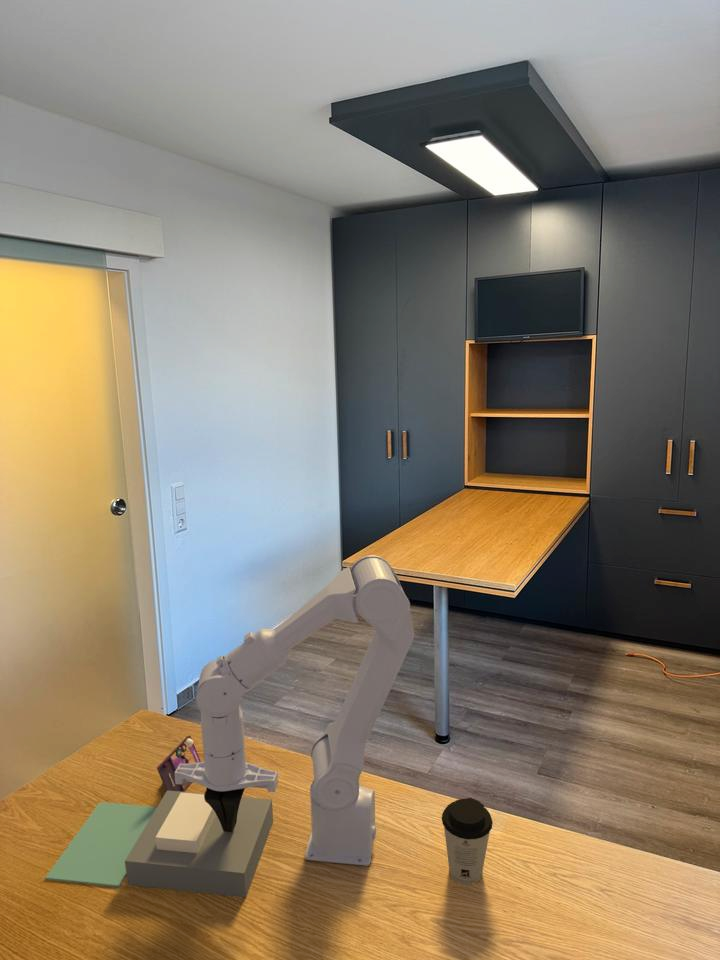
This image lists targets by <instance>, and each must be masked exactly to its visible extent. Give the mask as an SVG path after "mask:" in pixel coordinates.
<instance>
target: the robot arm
mask: <svg viewBox="0 0 720 960" xmlns="http://www.w3.org/2000/svg"><path fill="white" fill-rule="evenodd" d="M410 607H411V602H410V600H409V598H408V597H407V595H406V593H405V591H404V590H403V587H402V585H401V582H400V580H399V578H398V575H397V574H396V572H395V570H394V569H393V568H392V566H391V565H390V563H389V561H388V560H386V559H385V558H383V557H381V556H379V555H375V554H371V555H370V554H369V555H365V556H362V557H360V558H358V559H357V560H356V561H354V563H353V564H352V565H351V567H349V566H347V567H345V568H344V569H343V570H341V571H340V572H339V573H337V575H336V576H334V578H333V579H331V581H330V582H329V583H328V584H327V585H326V586H325V587H323V588H322V589H321V590H320V591H319V592H318V593H316V594H315V595H314V596H313V597H311V599H309V600H308V601H307V602H306V603H304V604H303V605H302V606H301V607H300V608H299V609H297V610H296V611H295V612H294V613H292V614H291V615H290V616H289V617H288V618H286V619H285V620H283V622H281V623H280V624H279V625H278V626H277V627H276V628H261V629H258V630H257V632H255V633H253V632H252V631H249V632H248V633H246V634H245V635H244V637H243V642H242V643H240V644H238V646H236V647H235V648H234V649H233V650H231V651H230V652H228V653H227V654H226V655H223V654H221V655H219V656H218V657H216V659H214V660H211V661H209V662H208V663H206V664H205V665H204V666H203V667H202V670H201V672H200V675H199V677H198V683H197V689H196V699H195V700H196V705H197V707H198V709H199V710H200V715H201V716H200V730H201V739H202V740H201V741H202V742H201V743H202V752H203V761H201V762H199V763H196V762H194V763H189V764H179V766H178V768H177V769H176V771H175V784H182V785H183V784H184V783H188V782H192V783H195V784H196V785H199V786H202V787H204V788H206V789H205V792H204V793H203V794H204V799H205V801H206V802H207V803H208V804H209V805H210V806H211V807H212V809H213V810H214V811H215V813H216V815H217V817H218V819H219V821H220V823H221V826H222V829H223V831H224V832H233V830H234V828H235V825H236V823H237V814H238V809H239V805H240V801H241V798H242V797H243V794H244V792H245V790H246V789H248V788H257V789H259V788H260V789H267V792H269V793H275V792H276V790H277V787H278V786H279V785H278V784H279V776H278V771H276V770H270V769H266V768H263V767H260V766H258V765H255V764H252V763H249V762H247V759H246V745H245V744H246V743H245V727H244V716H243V715H244V714H243V710H242V708H241V706H242V705H241V703H242V698H243V696H244V695H245V694H246V693H248V692H249V691H252V689H253V688H255V687H256V686H258V685H260V683H261V682H263V681H264V680H266V679H267V678H269V676H271V675H272V674H273V673H275V672H276V671H277V670H278V669H280V668H281V667H283V666H284V665H285V664H286V663H287V659H288V653H289V650H291V649H293V648H294V647H296V646H297V645H299V644H300V643H301V642H303V641H305V640H306V639H308V638H309V637H311V636H312V635H314V634H315V633H317V632H318V631H320V630H321V629H323V628H324V627H326V626H327V625H329V624H330V623H332V622H333V621H335V620H339V621H345V622H349V623H355V624H357V623H359V619H358V614H359V615H360V616H361V618H363V620H365V621H366V622H367V623H368V624H369V625H371V626H372V627H373V629H374V634H373V636H372V638H371V640H370V643H369V645H368V647H367V650H366V652H365V654H364V657H362V661H361V663H360V665H359V668H358V669H357V672H356V674H355V677H354V679H353V681H352V683H351V685H350V688H349V689H348V692H347V695H346V696H345V699H344V702H343V703H342V704H341V705H342V706H341V707H340V710H339V712H338V714H337V717H336V719H335V721H333V722H330V723H328V724H327V727H326V728H325V731H324V732H323V733H322V734H321V735H320V736H319V737H317V738H316V739H315V740H314V741H313V743H312V745H311V749H310V757H311V762H312V769H313V770H312V771H313V780H312V781H311V784H310V786H309V787H310V788H309V794H310V796H309V797H310V798H309V799H310V822H311V831H310V836H309V839H308V843H307V847H306V850H305V854H304V859H305V860H306V861H317V862H325V863H326V862H327V863H336V864H347V865H357V866H367V867H368V866H369V865H370V864H371V862H372V861H371V860H372V854H373V847H374V842H375V840H376V836H377V835H376V834H377V832H376V831H377V827H376V826H377V825H376V797H375V796H376V794H375V790H373V789H370V788H367V787H364V786H363V785H361V784H360V777H361V775H362V772H363V769H364V761H365V754H366V753H365V751H366V745H367V742H368V740H369V737H370V735H371V733H372V731H373V729H374V727H375V724H376V723H377V720H378V718H379V715H380V713H381V711H382V709H383V707H384V704H385V702H386V701H387V698H388V696H389V693H390V691H391V690H392V687H393V685H394V684H395V683H394V682H395V681H396V679H397V675H398V674H399V672H400V670H401V667H402V665H403V663H404V661H405V658H406V656H407V655H408V652H409V650H410V648H411V646H412V643H413V642H414V639H415V638H414V637H415V628H414V624H413V620H412V613H411V608H410Z"/></svg>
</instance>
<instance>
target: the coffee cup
mask: <svg viewBox="0 0 720 960" xmlns="http://www.w3.org/2000/svg"><path fill="white" fill-rule="evenodd" d="M441 823H442V826H443V827H444V828H443V829H444V836H445V845H446V846H445V847H446V853H447V854H446V855H447V861H448V862H447V863H448V868H449V874H450V877H452V879H453V880H454V881H456V882H457V883H458V884H462V885H473V883H474V884H476V883H477V881H478V882H479V881H480V880H481V878H482V877H483V876H482V875H483V870H484V864H485V859H486V856H487V855H486V854H487V848H488V844H489V838H490V832H491V830H492V828H493V823H494V822H493V818H492V815H491V813H490V812H489V811H488V809H487V808H486V806H485V805H484V804H483V803H482V802H480V801H479V800H477V799H474V798H472V797H467V798H460V799H456V800H455V801H452V802H451V803H449V804H447V805H446V807H445V808H444V810H443V811H442V815H441Z"/></svg>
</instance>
